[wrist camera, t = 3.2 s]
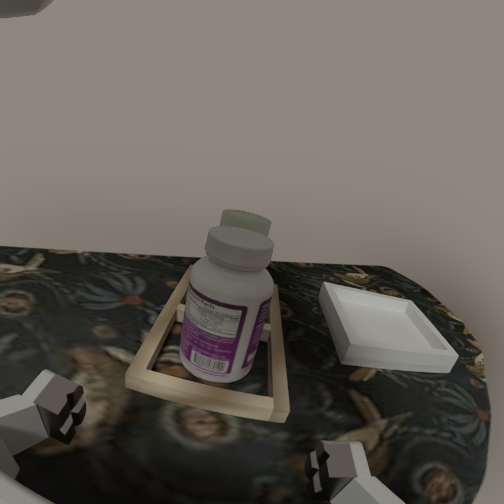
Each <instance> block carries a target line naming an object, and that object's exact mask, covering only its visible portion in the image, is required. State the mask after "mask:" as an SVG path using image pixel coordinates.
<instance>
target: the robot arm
mask: <svg viewBox="0 0 504 504" xmlns="http://www.w3.org/2000/svg"><path fill="white" fill-rule="evenodd" d="M52 1H53V0H0V18H10V17H20V16H29V15H35V14H37V13H39V12H40V11H42V10H43V9H44V8H45V7H47V6H48V5H49V4H50V3H51V2H52ZM83 394H84V391H83V386H81V385H78V384H76V383H74V382H72V381H70V380H68V379H66V378H63V377H61V376H59V375H57V374H55V373H53V372H51V371H49V370H47V369H46V370H43V371H42V372H41V373H40V374H39V376H38V377H37V378H36V379H35V380H34V381H33V383H32V384H31V385H30V386H29V387H28V389H27V390H26V391H25V392H24V393H23V395H22V396H21V395H19V394H18V395H15V396H12V397H8V398H5V399H2V400H0V504H55V503H53V502H51V501H49V500H47V499H46V498H44V497H42V496H40V495H39V494H37V493H35V492H33V491H32V490H30V489H28V488H27V487H25V486H23V485H22V484H20V483H19V482H17V481H16V480H14V479H15V477H16V476H17V474H18V472H19V470H20V469H19V466H18V464H17V463H16V461H15V460H14V458H13V457H12V456H13V455H15V454H17V453H19V452H21V451H23V450H25V449H27V448H29V447H31V446H33V445H35V444H37V443H39V442H41V441H42V440H44V439H46V438H48V436H50V437H52V438H54V439H56V440H58V441H60V442H62V443H64V444H67V445H69V444H70V442H71V440H72V438H73V437H74V435H75V433H76V431H75V426H77V425H80V424H81V423H82V421H83V419H84V416H85V413H86V401H85V400H84V399H83V397H82V395H83ZM305 476H306V477H307V478H308V479H309V480H310V482H309V483H308V484H307V485H306V487H307V497H308V500H315V501H330V502H331V504H405V503H404V502H403V501H402V500H401V499H400V498H398V497H397V496H396V495H395V494H394V493H393V492H392V491H390V490H389V489H388V488H387V487H386V486H385V485H384V484H383V483H381V482H380V481H379V480H378V479H377V478H376V477H375V476H374V477H371V474H370V470H369V467H368V463H367V460H366V456H365V453H364V449H363V446H362V443H361V442H346V441H319V442H318V443H317V444H316V445H315V451H313V452H311V453H310V454H309V456H308V457H307V460H306V464H305Z"/></svg>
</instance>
